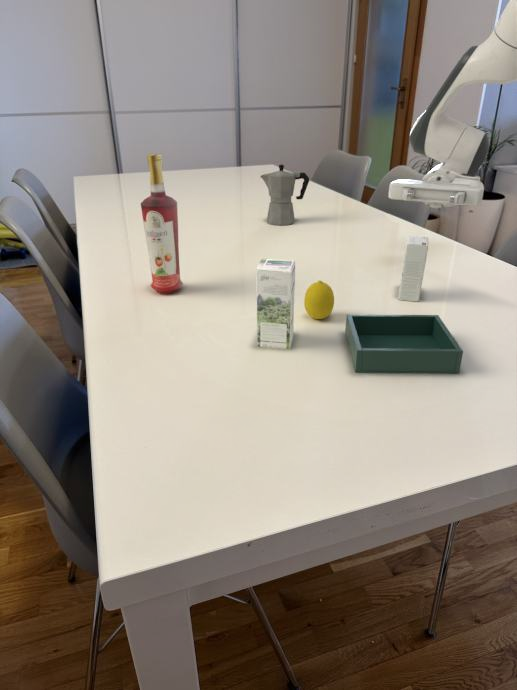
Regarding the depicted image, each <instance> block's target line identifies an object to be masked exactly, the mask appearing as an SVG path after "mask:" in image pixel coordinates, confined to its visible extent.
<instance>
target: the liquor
mask: <svg viewBox="0 0 517 690" xmlns="http://www.w3.org/2000/svg"><path fill="white" fill-rule="evenodd" d="M162 157H163V156H162V154H157V153H155V154H153V153H151V154H147V164H148V168H149V172H150V175H149V177H150V196H148V197H146V198H144V199H143V200H142V201H141V202H140V208H141V215H142V223H143V228H144V234H145V239H146V246H147V251H148V252H147V253H148V258H149V259H148V260H149V265H150V273H151V281H152V282H151V284H150V287H151V288H152V289H153V290H154V291H155V292H157V293H158V294H162V295H169V294H174V293H176V292H178V290H179V289H180V288H181V287H182V286H183V284H184V283H183V281H182V280H181V268H180V250H179V249H180V247H179V215H178V212H179V211H178V201H177V200H176V199H174V198H173V197H171V196H170V195H167V194H166V188H165V183H164V176H163V161H162V160H163V158H162Z"/></svg>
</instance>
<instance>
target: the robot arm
mask: <svg viewBox="0 0 517 690" xmlns="http://www.w3.org/2000/svg"><path fill="white" fill-rule="evenodd" d="M515 82H517V0H509V1H508V2H507V4H506V6H505V7H504V9H503V11H502V13H501V14H500V16H499V18H498V20H497V22H496V24H495V26H494V28H493V29H492V32H491V33H490V35H489V36H488V37H487V38H486V39H485V40H484V41H483V42H482V43H480V44H479V45H473V46H471V47H469V48H468V49H467V50H466V51H465V52H464V54H462V56H461V57H460V59H459V60H458V61H457V63H456V64H455V66H454V67H453V69H451V72H449V74H448V76H447V78H446V79H445V80H444V82H443V83H442V85H441V87H440V88H439V90H437V92H436V95H435V96H434V97H433V99H432V100H431V102H430V103H429V105H428V107H427V108H426V109H425V110H424V111H423V112H422V114H421V115H420V116H419V117H418V118H417V119H416V121H415V122H414V124H413V126H412V127H411V130H410V133H409V137H408V141H409V144H410V146H411V149H412V151H413V152H414V153H416V154H418V155H421V156H425V157H429V158H430V159H433V160H434V161H437V162H439V163H440V164H437V165H436V166H434V167H433V168H432V169H431V170H429V171H428V172H427V173H426V174H425V175H424V176H423V177H422V178H421V180H419V179H405V178H404V179H396V180H393V181H392V182H390V183H389V186H388V196H387V197H388V198H389V200H397V201H404V202H405V201H406V202H407V201H408V202H420V203H421V202H422V203H423V204H424V205H426V206H428V207H429V208H433V209H442V208H444V207H446V208H449V207H455V206H459V207H461V206H467V207H469V206H471V207H480V206H482V203H483V202H482V201H483V198H484V193H485V192H484V191H485V186H484V184H483V183H484V182H482V181H481V176H479V175H476V174H477V172H478V171H479V169H480V168H481V166H482V165H483V163H484V160H485V159H486V157H487V154H488V152H489V149H490V141H489V136H488V134H487V133H486V132H485V131H482V130H481V129H478V128H476V127H473V126H472V125H469V124H466V123H464V122H462V121H460V120H457V119H455V118H453V117H451V116H449V115H448V114H447V113H446V111H447V110H448V109H449V107H450V106H451V104H452V103H453V101H454V100H455V98H456V97H457V95H458V94H459V93H460V92H461V90H462V89H463V88H465V87H468V86H473V85H506V84H511V83H515Z"/></svg>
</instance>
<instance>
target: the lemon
mask: <svg viewBox="0 0 517 690" xmlns="http://www.w3.org/2000/svg"><path fill="white" fill-rule="evenodd" d="M303 302H304V303H303V305H304V310H305V311H306V314H307V315H308V316H309V317H310V318H312V319H315V320H323V319H326V318H327V317H329V316H330V315H331V314H332V313H333V309H334V307H335V294H334V291H333V289H332V287H331V286H330V285H329V284H328V283H326V282H323V281H322V280H318V281H316V282H313V283H312V284H310V285H309V286H308V288H307V289H306V291H305V293H304V301H303Z"/></svg>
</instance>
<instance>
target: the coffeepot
mask: <svg viewBox="0 0 517 690" xmlns="http://www.w3.org/2000/svg"><path fill="white" fill-rule="evenodd" d="M284 167H285V165H284V164H279V165H278V170H277V171H274V172H268V173H264V174H260V179H262V180H263V182H264V184H265V185H266V188H267V190H268V197H270V202H269V203H268V204H269V205H268V211H267V216H266V223H267V224H268V225H271V226H292V225H293V224H294V223H295V222H296V218H295V212H294V204H293V202H292V197H293V196H294V192H295V185H296V180H303V181H302V187H301V189H300V192H299V193H300V194H299V195H298V196H295V198H296V200H303V198H304V196H305V193H306V190H307V189H308V185H309V183H310V177H309V176H308V175H307V173H306V172H289V171H285V170H284V169H285V168H284Z"/></svg>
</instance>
